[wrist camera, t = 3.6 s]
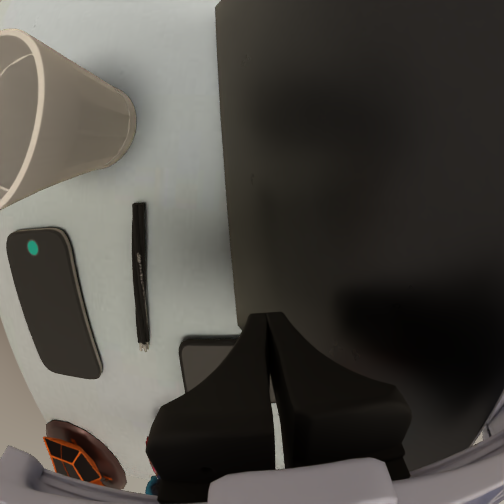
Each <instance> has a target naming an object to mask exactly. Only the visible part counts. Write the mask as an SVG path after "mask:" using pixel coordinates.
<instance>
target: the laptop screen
mask: <svg viewBox="0 0 504 504" xmlns="http://www.w3.org/2000/svg"><path fill="white" fill-rule="evenodd" d="M215 17H216V39H217V60H218V78H219V96H220V112H221V128H222V143H223V157H224V171H225V185H226V198H227V211H228V223H229V235H230V247H231V258H232V270H233V281H234V292H235V302H236V313H237V323H238V326H239V327H240V329H241V330H242V331H243V328H244V326H245V324H246V321H247V318H248V316H249V315H250V314H253V313H267V312H280V311H282V312H283V313H284V314H285V316H286V317H287V319H288V320H289V321H290V322H291V324H292V325H293V326H294V327H295V328H296V329H297V331H298V332H299V333H300V334H301V335H302V336H303V337H304V338H305V339H306V340H307V341H308V342H309V343H310V344H312V345H313V346H314V347H315V348H316V349H317V350H318V351H320V352H321V353H322V354H324V355H325V356H327V357H328V358H330V359H331V360H333V361H334V362H336V363H338V364H340V365H342V366H343V367H345V368H347V369H349V370H351V371H353V372H356V373H358V374H360V375H363V376H365V377H368V378H371V379H374V380H377V381H381V382H384V383H388V384H392V385H395V386H396V387H397V389H398V390H399V391H400V393H401V394H402V395H403V397H404V398H405V400H406V402H407V403H408V405H409V407H410V409H411V411H412V420H411V424H410V426H409V429H408V431H407V433H406V435H405V437H404V440H403V442H402V445H403V448H404V450H405V455H404V457H403V459H404V461H405V463H406V466H407V468H408V470H409V472H410V471H413V470H416V469H419V468H421V467H424V466H427V465H429V464H432V463H435V462H437V461H440V460H442V459H445V458H447V457H449V456H452V455H454V454H456V453H458V452H461V451H463V450H465V449H467V448H469V447H471V446H472V445H473V444H474V442H475V441H476V439H477V438H478V436H479V435H480V433H481V432H482V430H483V429H484V427H485V425H486V424H487V422H488V420H489V419H490V417H491V415H492V414H493V412H494V410H495V409H496V407H497V405H498V403H499V402H500V400H501V398H502V396H503V394H504V0H221V1H220V2H219V3H218V4H217V6H216V7H215Z"/></svg>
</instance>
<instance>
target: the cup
mask: <svg viewBox="0 0 504 504" xmlns="http://www.w3.org/2000/svg"><path fill="white" fill-rule="evenodd" d="M135 131H136V113H135V109H134V106H133V104H132V102H131V100H130V99H129V97H128V96H127V95H126V94H125V93H124V92H122V91H121V90H119V89H117V88H115V87H113V86H111V85H109V84H108V83H106V82H105V81H103V80H101V79H100V78H98V77H97V76H95V75H94V74H92V73H90V72H89V71H87V70H86V69H84V68H82V67H81V66H79V65H78V64H76V63H74V62H73V61H71V60H69V59H68V58H66V57H64V56H63V55H61V54H60V53H58V52H57V51H55V50H54V49H52V48H50V47H49V46H47V45H45V44H44V43H42V42H41V41H39V40H37V39H36V38H34V37H32V36H31V35H29V34H27V33H26V32H24V31H22V30H18V29H4V30H1V31H0V210H2V209H4V208H6V207H8V206H10V205H12V204H14V203H16V202H18V201H20V200H22V199H24V198H26V197H28V196H30V195H32V194H35V193H37V192H38V191H41V190H43V189H45V188H48V187H50V186H53V185H55V184H58V183H60V182H63V181H66V180H68V179H71V178H73V177H76V176H79V175H82V174H84V173H87V172H90V171H93V170H98V169H103V168H106V167H109V166H111V165H113V164H114V163H116V162H117V161H118V160H120V159H121V158H122V157H123V155H124V154H125V153H126V152H127V150H128V149H129V147H130V145H131V143H132V141H133V138H134V135H135Z"/></svg>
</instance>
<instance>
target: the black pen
mask: <svg viewBox="0 0 504 504" xmlns="http://www.w3.org/2000/svg"><path fill="white" fill-rule="evenodd" d="M132 207H133V220H132V270H133V285H134V296H135V307H136V327H137V337H138V343H139V345H140V351H142V348H144V351H145V352H147V349H149V345H148V342H149V331H148V320H147V309H146V276H145V222H144V211H145V203H134V204H132Z"/></svg>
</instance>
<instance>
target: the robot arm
mask: <svg viewBox="0 0 504 504" xmlns="http://www.w3.org/2000/svg"><path fill="white" fill-rule="evenodd" d="M270 377H271V381H272V386H273V390H274V395H275V399H276V404H277V409H278V413H279V418H280V424H281V433H282V443H283V453H284V463H285V469H278V470H275V438H274V423H273V414H272V407H271V400H270ZM411 420H412V411H411V409H410V407H409V405H408V403H407V402H406V400H405V398H404V397H403V395H402V394H401V393H400V391H399V390H398V389H397V387H396V386H395V385H392V384H388V383H384V382H381V381H377V380H374V379H371V378H368V377H365V376H363V375H360V374H358V373H356V372H353V371H351V370H349V369H347V368H345V367H343V366H342V365H340V364H338V363H336V362H334V361H333V360H331V359H330V358H328V357H327V356H325V355H324V354H322V353H321V352H320V351H318V350H317V349H316V348H315V347H314V346H313V345H312V344H310V343H309V342H308V341H307V340H306V339H305V338H304V337H303V336H302V335H301V334H300V333H299V332H298V331H297V329H296V328H295V327H294V326H293V325H292V324H291V322H290V321H289V320H288V319H287V317H286V316H285V314H284V313H283V312H282V311H280V312H267V313H253V314H250V315H249V316H248V318H247V321H246V324H245V326H244V328H243V331H242V332H241V334H240V336H239V338H238V340H237V341H236V343H235V345H234V346H233V347H232V349H231V350H230V352H229V353H228V355H227V356H226V357H225V359H224V360H223V361H222V362H221V363H220V364H219V366H218V367H217V368H216V369H215V370H214V371H213V372H212V373H211V374H210V375H209V376H208V377H207V378H206V379H204V380H203V381H202V382H201V383H200V384H198V385H197V386H196V387H194V388H193V389H191V390H190V391H188V392H187V393H185V394H184V395H182V396H180V397H178V398H177V399H175V400H173V401H171V402H169V403H167V404H165V405H163V406H161V408H160V410H159V412H158V414H157V416H156V418H155V420H154V422H153V424H152V427H151V430H150V434H149V437H148V441H147V445H146V453H147V456H148V458H149V460H150V462H151V463H152V465H153V467H154V468H155V470H156V472H157V473H158V475H159V476H160V478H161V482H160V487H159V492H158V496H155V495H148V494H141V493H134V492H129V491H124V490H119V489H114V488H110V487H105V486H101V485H97V484H93V483H89V482H85V481H82V480H78V479H75V478H71V477H68V476H65V475H62V474H59V473H56V472H53V471H50V470H47V469H44V468H43V466H42V465H41V463H40V462H39V461H38V460H37V459H36V458H35V457H34V456H32V455H31V454H29V453H27V452H24V451H22V450H19V449H17V448H14V447H12V446H7V448H6V450H5V452H4V453H3V455H2V457H1V459H0V504H498V503H500V502H501V501H502V500H504V394H503V396H502V398H501V400H500V402H499V403H498V405H497V407H496V409H495V410H494V412H493V414H492V415H491V417H490V419H489V420H488V422H487V424H486V425H485V427H484V429H483V430H482V433H483V441H481V442H479V443H478V444H475V445H474V446H471V447H469V448H467V449H465V450H463V451H461V452H458V453H456V454H454V455H452V456H449V457H447V458H445V459H442V460H440V461H437V462H435V463H432V464H429V465H427V466H424V467H421V468H419V469H416V470H413V471H410V472H409V470H408V468H407V466H406V463H405V461H404V459H403V457H404V455H405V450H404V448H403V445H402V442H403V440H404V437H405V435H406V433H407V431H408V429H409V426H410V424H411Z"/></svg>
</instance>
